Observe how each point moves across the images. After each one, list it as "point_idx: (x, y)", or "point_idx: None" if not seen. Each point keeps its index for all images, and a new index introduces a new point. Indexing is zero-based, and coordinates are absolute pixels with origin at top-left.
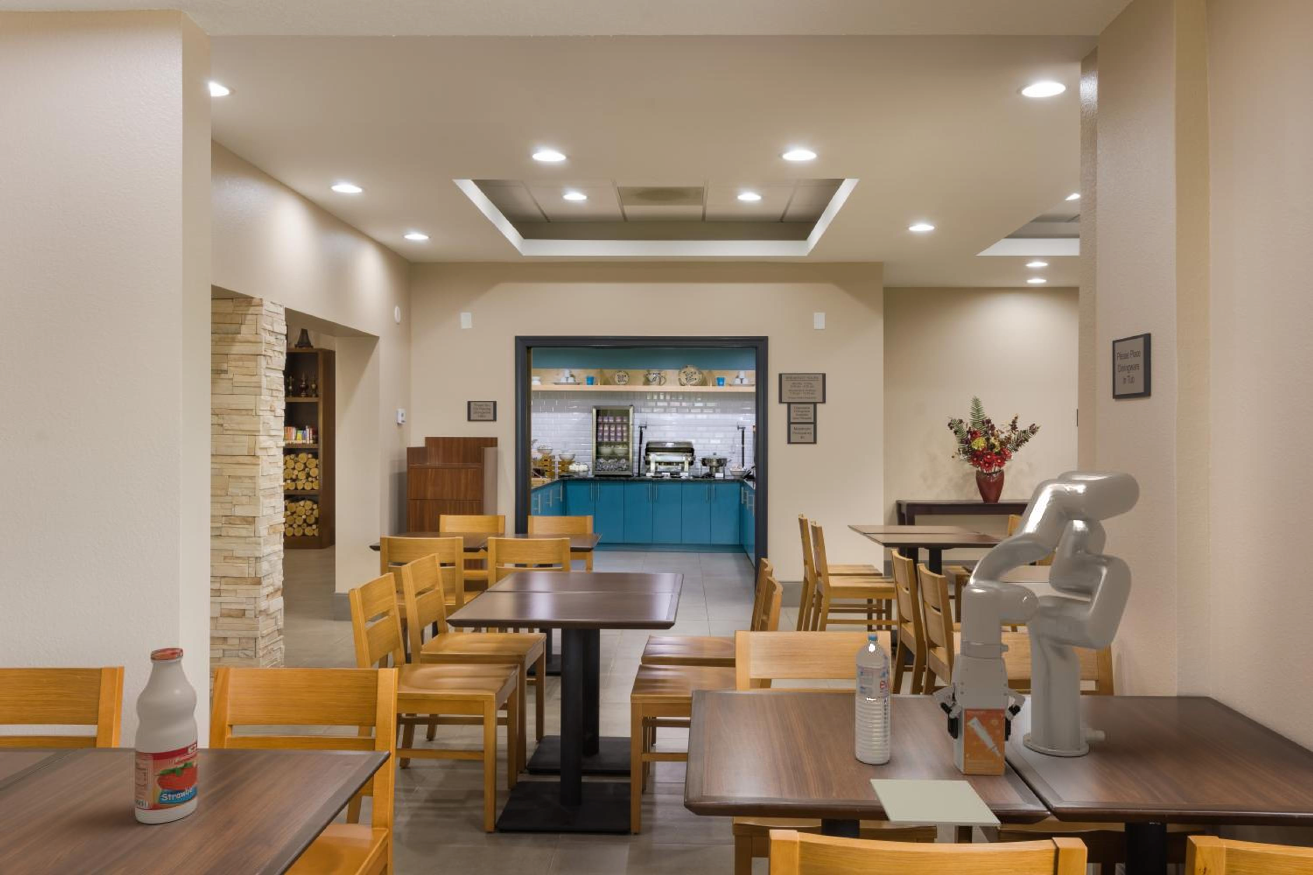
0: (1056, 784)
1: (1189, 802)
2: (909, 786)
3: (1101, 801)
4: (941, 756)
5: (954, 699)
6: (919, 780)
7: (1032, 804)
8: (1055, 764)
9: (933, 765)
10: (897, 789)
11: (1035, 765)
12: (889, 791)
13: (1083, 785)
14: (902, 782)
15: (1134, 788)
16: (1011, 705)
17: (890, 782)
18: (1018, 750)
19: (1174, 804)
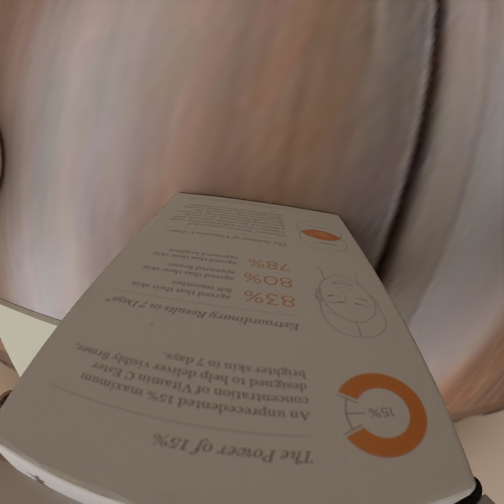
0: None
1: (499, 399)
2: (41, 345)
3: None
4: (157, 114)
5: (3, 469)
6: (55, 327)
7: None
8: (500, 249)
9: (101, 208)
10: (26, 349)
11: (456, 250)
12: (18, 351)
13: (445, 367)
14: (28, 326)
15: (497, 368)
16: (456, 502)
17: (12, 320)
18: (488, 114)
19: (480, 408)
